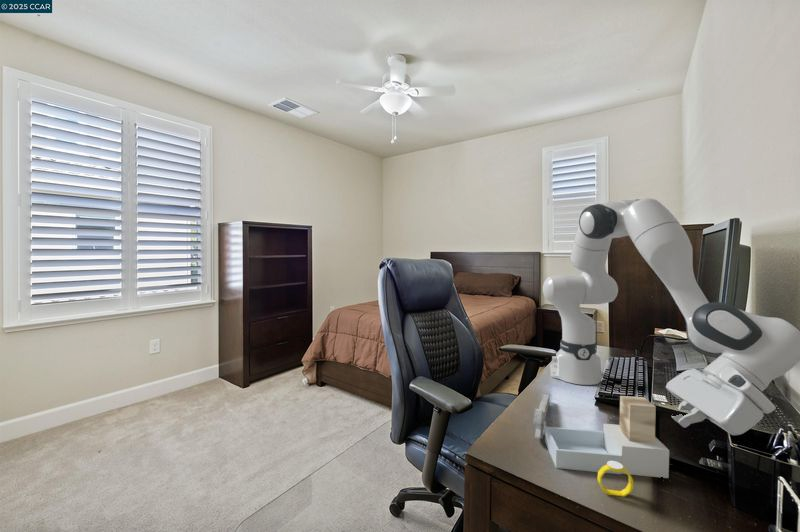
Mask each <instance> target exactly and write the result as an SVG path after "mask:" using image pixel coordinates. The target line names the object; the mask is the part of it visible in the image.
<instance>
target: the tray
mask: <svg viewBox="0 0 800 532" xmlns="http://www.w3.org/2000/svg"><path fill="white" fill-rule="evenodd" d="M544 436H545V437H544V443H545V445H546V447H547V450H548V452H549V456H550V458H551V460H552V462H553V464H554V466H555V469H565V470H574V471H583V472H591V473H592V472H593V473H598V471H599V470H600V469H601V468H602V467H603V466H605V465H607V462H608V461H616V462H619V463H621V455H620V454H610V453H607V451H606V450H605V449H604V447H603V431H602V430H596V429H595V430H593V429H580V428H570V427H555V426H544ZM605 474H614V475H622V474H621V472H614V471H612V470H609V471H607V472H605Z"/></svg>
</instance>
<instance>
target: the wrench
mask: <svg viewBox="0 0 800 532" xmlns="http://www.w3.org/2000/svg"><path fill="white" fill-rule="evenodd" d="M549 405H550V395H549V394H543V395H542V398H541V401H540V404H539V406H538V408H536V407H535V409H534V415H533V425H534V427H535V433H534V438H535V439H536V440H540V439H543V438H544V437H543V436H544V429H545V421H546V417H547V413H548V410H549Z"/></svg>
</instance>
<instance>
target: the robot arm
mask: <svg viewBox="0 0 800 532" xmlns="http://www.w3.org/2000/svg"><path fill="white" fill-rule="evenodd" d="M578 224H579V225H578V227H577V230H576V232H575V237H574V240H573V245H572V249H571V252H570V256H569V257H570V262H571V264H572V265H573V267H574V268H576V269H578V270H579V271H581V273H579V274H555V275H552V276H548V277H546V279H545V280H544V282H543V285H542V294H543V296H544V298H545V299H546V300H547V301H548V302H549V303H551V305H553V306H554V308H556V311H558V313H559V317H560V319H561V330H562V331H561V333H562V335H561V337H562V338H561V339H560V343H559V344H560V346H559V350H558V351H557V353H555V355H552V356H551V362H552V363H550V364H549V369H550V371H549V373H550V377H551V378H552V379H553V378H554V379H557V380H561V381H563V382H565V383H566V382H567V383H571V384H575V385H584V386H594V385H598V384H599V383H601V382H602V381H601V379H602V376H603V375H602V361H601V360H602V359H601V357H600V356H599V355H598V354H597V353H598V351H597V349H598V346H597V342H596V334H597V333H596V321H595V320H594V318H592V317H591V316H590V315H588V314H586V313H584V312H582V310H581V307H580V306H581V305H601V304H602V305H603V304H607V303H612V302H614V301H615V299H616V298H617V296H618V293H619V287H618V283H617V282H616V280H615V279H614V277H612V276H611V275H609V274H608V272H607V269H606V268H607V266H606V264H607V259H608V255H609V251H610V247H611V245H612V244H611V243H612V240H613V239H618V238H624V237H628V236H629V238H630V239H631V241H632V243H633V245H634V246H635V248H636V249H637V251H638V252H639V254H640V255H641V257H642V258H643V259H644V261H645V262H646V263H647V264H648V266H649V267H650V268H651V269H652V271H654V273H655V274H656V275H657V277H658V278H659V279H660V281H661V282H662V283H663V284H664V287H666V289H667V291H668V293H669V294H670V296H671V297H672V300H673V301H674V302H675V305H676V307H677V308H678V310H679V311H680V313H681V315H682V317H683V319H684V322H685V329H686V332H685V333H686V339H687V342H688V344H689V345H690V346H691V348H692V349H694V351H696V352H698V353H699V354H701V355H703V356H705V357H709V358H713V359H714V358H715V359H714V360H713V361H711V362H710V363H709V364H708V365H707V366H706V367H704V368H703V367H698V368H697V367H696V368H691V369H690V368H689V369H686V370H685V371H682V372H681V373H679V374H677V375H676V376H675V377H673V378H672V379H670V380H669V381H668V382H667V383H666V385H665V389H666V390H667V391H669V393H671V395H672V396H674V397H675V398H676V399H678V400H679V401H681V402H680V403H679V405H678V407H677V409H679V410H688V411H691V413H690V412H689V413H688V414H686V415H684V416H683V415H682V414H679V415H676V416H672V415H671V418H672V419H673V420H674V421H675V422H676V423H678V424H679V425H680V427H682V428H687V427H689V426H691V424H695V423H700V422H703V421H704V420H705V419H707V420H709V421H710V422H711V423H713V424H715V425H716V426H718V427H719V428H721V429H722V430H724V431H725V432H726V433H728V434H730V435H731V436H740V435H743V434H744V433H746V432H747V431H749V430H750V429H752V428H753V427H755V426H756V424H758V423H759V422H760V421H762V419H763V418H764V414H767V415H768V414H770V413H772V412H774V411H775V410H776V406H775V404H774V403H773V402H771V400H770V399H769V398H768V397H767V396H766V395H765V394H764V393H763V392H764V390H766V389H767V388H768V387H769V385H770V383H772V381H773V380H775V379H776V378H779V377H782V376H784V375H786V373H788V372H789V371H791V370H792V369H793V368H794V367H795V366H796V365H797V364H799V363H800V329H799V327H797V326H796V325H794V324H793V323H791V322H789V321H788V320H785V319H783V318H779V317H773V316H771V317H769V316H763V315H758V314H754V313H750V312H748V311H745V310H743V309H739V308H737V307H735V306H734V305H731V304H728V303H726V302H718V301H717V302H716V301H714V302H709V300H708V299H707V297H706V295H705V293H704V292H703V290H702V289H701V287H700V286H699V283H698V282H697V279H696V276H695V274H694V273H695V272H694V265H693V262H694V261H693V253H694V252H693V250H694V249H693V245H692V243H691V241H690V238H689V235H688V234H687V232H686V230H685V229H684V227H683V225H682V224H681V223H680V222H679V220H678V219H677V217H675V216H674V214H673V213H671V211H670V210H669V209H668V208H666V207H665V205H663V204H662V203H661V202H660V201H659V200H657V199H654V198H649V197H648V198H647V197H646V198H642V199H641V198H640V199H623V200H615V201H609V202H604V203H596V204H592V205H589V206H587V207H585V208H584V209H583V210H582V212H581V213H580V216H579V219H578ZM600 381H601V382H600Z"/></svg>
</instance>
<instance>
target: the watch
mask: <svg viewBox="0 0 800 532" xmlns="http://www.w3.org/2000/svg"><path fill="white" fill-rule="evenodd" d="M609 470H612V471H614V472H622V471H623V472H625V473H626V474H625V475H627V476H628V478H627V479H628V483H627V485H626V486H625V488H624V489H622V490H616V489H615V490H614V489H608V488H606V487H605V486H604V485H603V483H602V482H603V481H602V480H603V477H604V475H605V474H606V473H605V472H607V471H609ZM596 479H597V482H598V485H599V486H600V489H601V490H602V491H603V492H604V493H605V494H606V495H607V496H615V497H616V496H617V497H622V498H625V497H627V496H628V495H630V494H631V493H632V491H633V489H634V488H635V487H634V479H633V477H632V475H631V474H629V472H628V471H627V470H626V469H625V468H624V467H623V465H622V464H621V463H619V462H616V461H608V462H607V465H605V466H603V467H602V468H601V469H600V470H599V471H598V472H597V478H596Z"/></svg>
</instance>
